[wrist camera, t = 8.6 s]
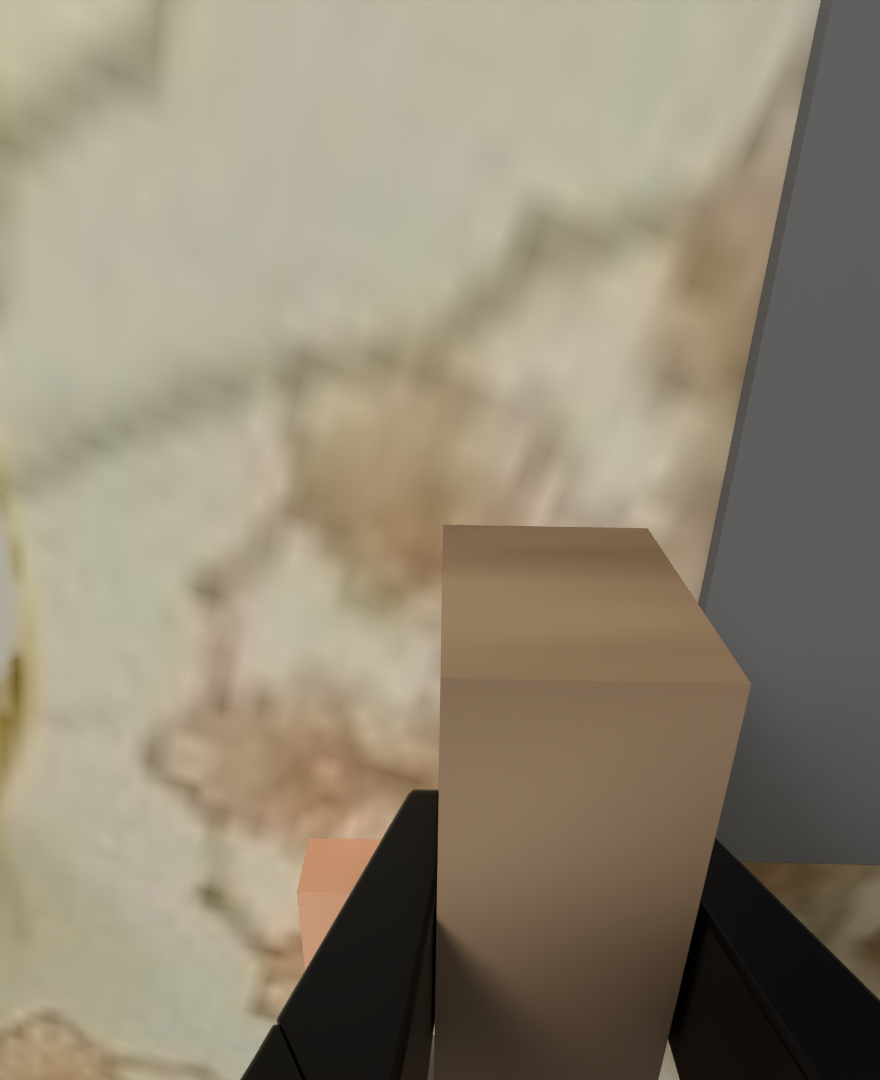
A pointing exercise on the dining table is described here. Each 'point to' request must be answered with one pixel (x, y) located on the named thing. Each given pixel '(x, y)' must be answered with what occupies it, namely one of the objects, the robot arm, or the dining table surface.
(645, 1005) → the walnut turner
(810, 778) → the mat
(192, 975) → the dining table surface
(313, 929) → the terracotta tile
